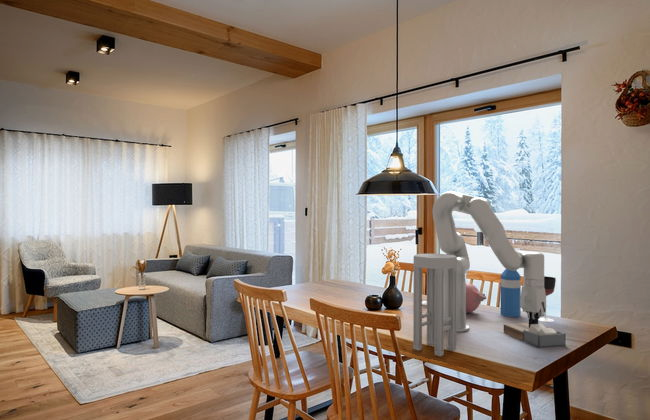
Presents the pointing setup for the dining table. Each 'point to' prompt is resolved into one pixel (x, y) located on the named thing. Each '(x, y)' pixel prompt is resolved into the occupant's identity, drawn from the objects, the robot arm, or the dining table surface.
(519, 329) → the board
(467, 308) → the pomegranate
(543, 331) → the tile front
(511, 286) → the water bottle
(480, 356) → the dining table surface
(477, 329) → the dining table surface
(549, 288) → the wineglass
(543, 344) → the tray
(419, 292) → the stool
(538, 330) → the tile rear
